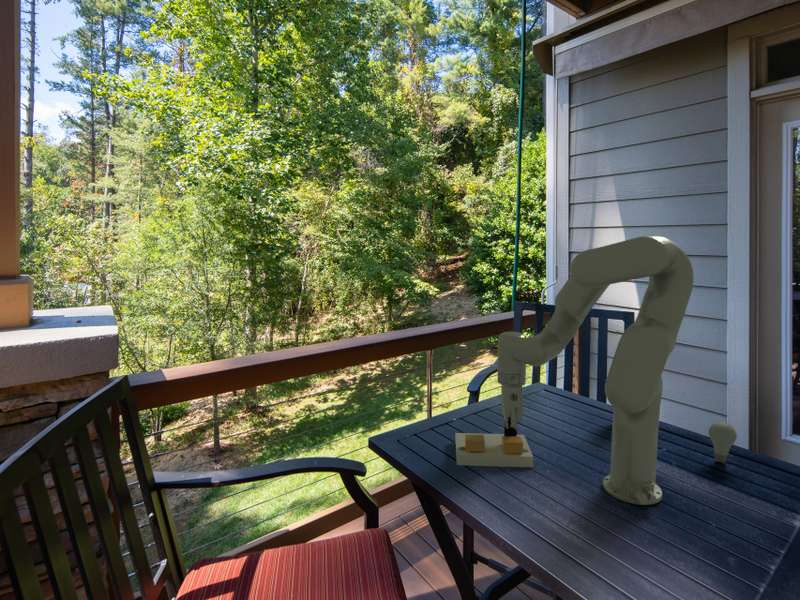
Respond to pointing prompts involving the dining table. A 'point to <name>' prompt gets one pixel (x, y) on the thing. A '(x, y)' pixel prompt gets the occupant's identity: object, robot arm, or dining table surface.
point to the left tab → (475, 443)
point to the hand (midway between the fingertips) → (510, 440)
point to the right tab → (512, 444)
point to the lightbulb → (722, 439)
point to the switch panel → (492, 453)
